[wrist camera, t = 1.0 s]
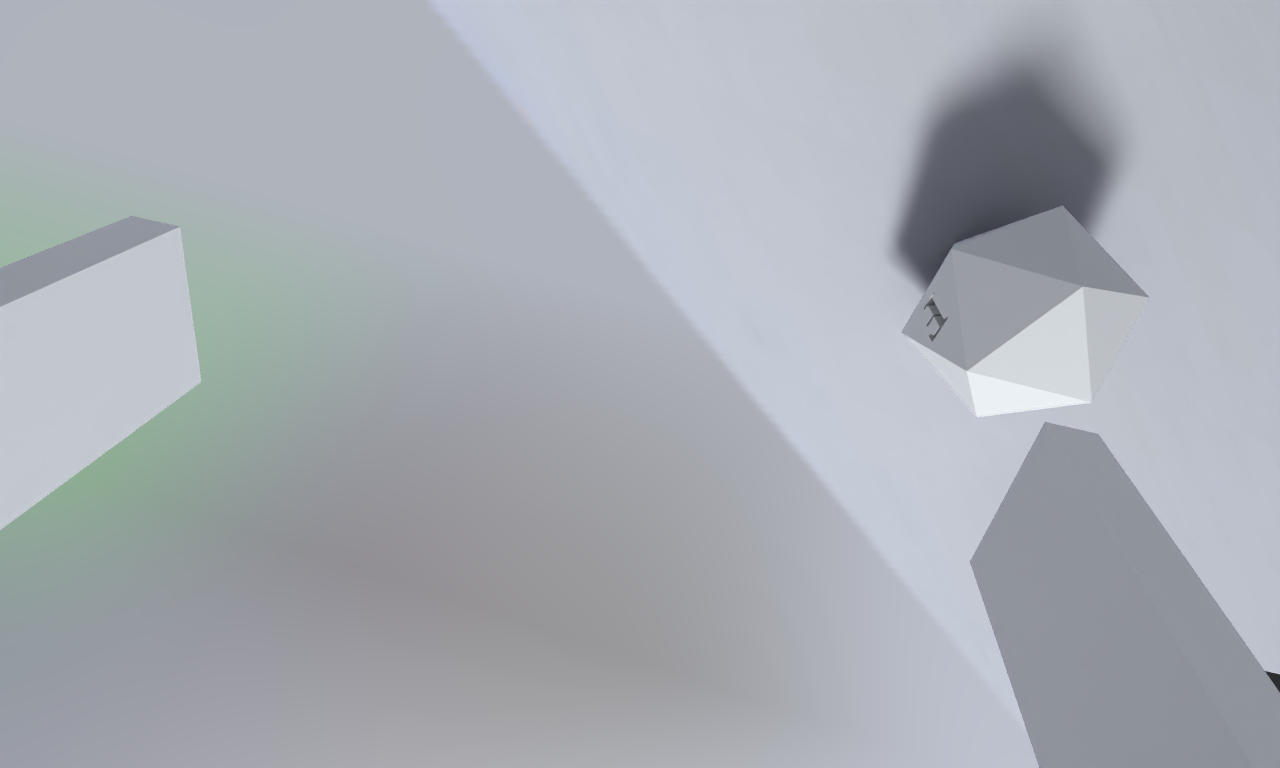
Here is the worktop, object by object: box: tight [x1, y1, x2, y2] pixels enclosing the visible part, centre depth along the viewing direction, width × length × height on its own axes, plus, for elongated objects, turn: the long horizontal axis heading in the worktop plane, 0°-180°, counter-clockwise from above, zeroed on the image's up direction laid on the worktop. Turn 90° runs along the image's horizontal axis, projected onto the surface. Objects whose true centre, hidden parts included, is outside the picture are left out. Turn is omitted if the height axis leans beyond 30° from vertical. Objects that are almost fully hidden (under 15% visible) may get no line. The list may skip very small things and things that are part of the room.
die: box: [901, 205, 1149, 417], centre depth 33 cm, size 8×9×10 cm
